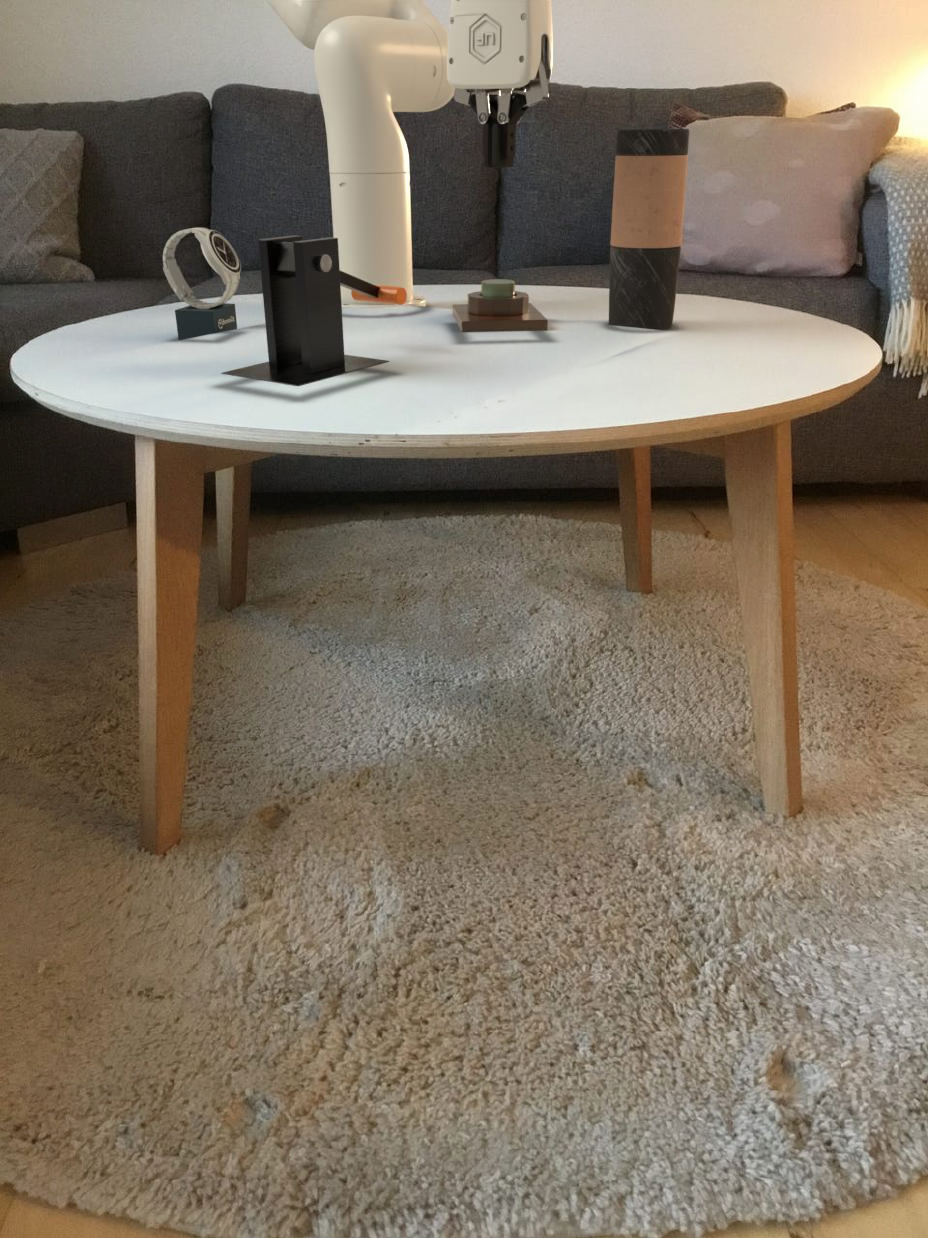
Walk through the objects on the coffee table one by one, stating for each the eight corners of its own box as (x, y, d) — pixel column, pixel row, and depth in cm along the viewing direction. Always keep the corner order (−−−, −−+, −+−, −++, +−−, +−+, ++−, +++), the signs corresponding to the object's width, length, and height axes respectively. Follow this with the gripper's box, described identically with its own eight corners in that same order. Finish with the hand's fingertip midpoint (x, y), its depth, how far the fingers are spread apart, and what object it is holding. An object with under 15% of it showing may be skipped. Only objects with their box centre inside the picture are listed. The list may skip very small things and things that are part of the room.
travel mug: (680, 332, 110) (697, 128, 102) (610, 332, 110) (620, 129, 102) (668, 320, 117) (683, 128, 109) (602, 320, 117) (612, 129, 109)
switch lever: (359, 306, 97) (363, 280, 96) (404, 311, 94) (409, 284, 94) (262, 269, 86) (266, 240, 85) (310, 273, 83) (315, 243, 82)
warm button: (479, 296, 111) (479, 279, 110) (512, 295, 111) (512, 278, 110) (483, 300, 108) (483, 283, 107) (516, 300, 108) (517, 283, 107)
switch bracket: (316, 363, 96) (307, 230, 91) (390, 373, 92) (385, 235, 87) (222, 386, 87) (206, 241, 82) (298, 399, 83) (287, 247, 78)
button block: (452, 324, 116) (452, 287, 114) (530, 322, 117) (530, 286, 115) (461, 343, 105) (461, 303, 103) (547, 341, 106) (548, 301, 104)
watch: (233, 342, 106) (222, 230, 102) (163, 339, 108) (149, 229, 103) (254, 333, 111) (244, 226, 107) (187, 330, 113) (174, 225, 108)
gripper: (416, -43, 97) (419, 166, 105) (550, -56, 90) (541, 170, 98) (461, -34, 103) (460, 164, 111) (591, -45, 95) (579, 168, 103)
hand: (498, 166), depth 104 cm, fingers closed
